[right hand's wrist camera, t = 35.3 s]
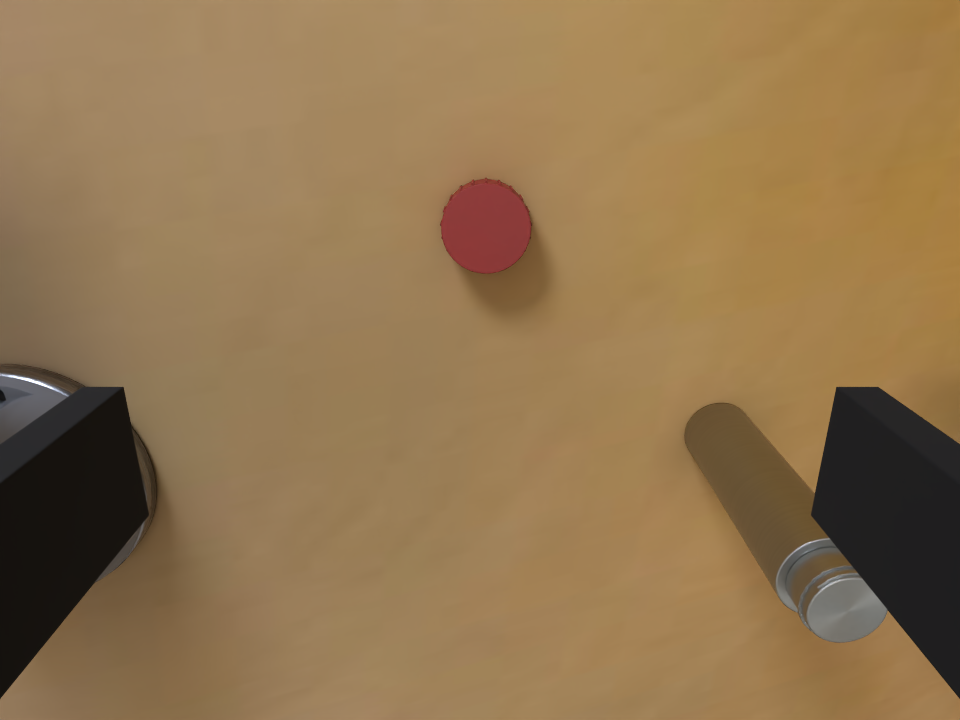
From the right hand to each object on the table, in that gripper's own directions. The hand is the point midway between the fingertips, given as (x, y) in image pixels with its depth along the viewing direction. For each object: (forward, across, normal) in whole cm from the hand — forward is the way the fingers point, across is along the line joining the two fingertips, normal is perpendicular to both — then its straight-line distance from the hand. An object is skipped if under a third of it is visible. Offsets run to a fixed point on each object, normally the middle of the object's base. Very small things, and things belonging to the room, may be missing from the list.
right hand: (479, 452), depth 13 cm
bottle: (+26, +15, -13) cm, 33 cm away
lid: (+25, 0, 0) cm, 25 cm away
